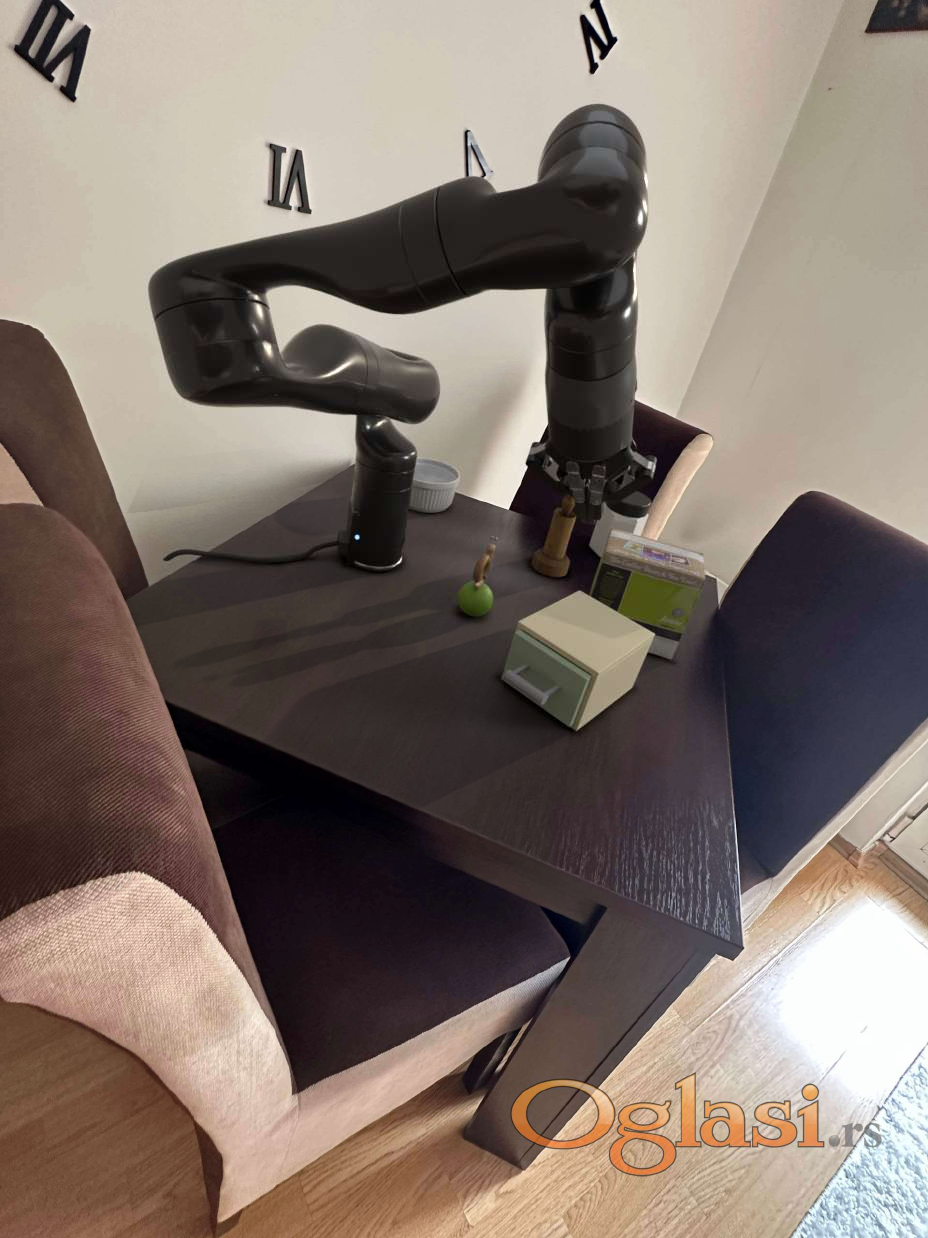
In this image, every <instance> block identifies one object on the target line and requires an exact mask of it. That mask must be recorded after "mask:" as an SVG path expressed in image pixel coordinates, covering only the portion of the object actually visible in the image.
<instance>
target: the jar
mask: <svg viewBox="0 0 928 1238" xmlns="http://www.w3.org/2000/svg"><path fill="white" fill-rule="evenodd" d="M651 505H652V500H651V499H650V498H649V497H648V496H647V495H646V494H643V493H642V492H639V491H636V492H634V493H633V494H631V495H630V496H628V497H626V498H625V499H623V500H622V501H620V502H618V503H616V504H612V503H610V502H608V500H606V501H604V510H603V513H602V517H601V519H600V520H596V521H595V526H594V529H593V532H592V535H591V538H590V541H589V544H588V547H589V548H590V549H591V550H592V551H593V552H594V553H595V554H596V555H597V556H598V557H599V558H601V557H602V554H603V551H604V548H605V545H606V542H607V538H608V535H609V532H610V530H611V528H614V529H617V530H621V531H625V532H628V533H632V534H636V535H639V536H642V534H643V531H644V528H645V526H646V523H647V521H648V518H649V513H648V512H649V509H650V507H651Z"/></svg>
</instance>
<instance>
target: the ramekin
mask: <svg viewBox="0 0 928 1238" xmlns="http://www.w3.org/2000/svg"><path fill="white" fill-rule="evenodd" d="M460 480H461V474H460V471H459V470H458V469H457V468H456V467H454V466H453V465H452V464H449V463H447V462H445V461H443V460H439V459H434V458H429V457H423V456H421V457H420V456H417V460H416V466H415V472H414V479H413V485H412V492H411V498H410V505H409V510H411V511H414V512H419V513H427V514H434V513H441V512H444V511H445V510H446V509H448V508H449V507H450V506H451V504H452V503H453V500H454V497H455V494H456V491H457V488H458V487H457V486H458V485H459V483H460Z"/></svg>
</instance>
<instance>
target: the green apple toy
mask: <svg viewBox="0 0 928 1238" xmlns="http://www.w3.org/2000/svg"><path fill="white" fill-rule="evenodd" d="M489 538H490V542H489V544H488V545H487V546H486V552H485V553H484V554H481V556H479V558H478V559H477V562H476V563H475V565H474V569H473V574H472V581H469V582H466V583H465V584H464V585H462V586H461V588H460V589H459V591H458V593H457V604H458V606H459V608H460V610H461V612H463V613H464V614H466V615H468V616H470V617H481V616H483V615H485V614H487V613H488V612H489V611H490V610H491V608H492V606H493V603H494V593H493V592H492V589H491V588H490V587H489V585H487V584H486V583H485V581H486V580H487V578H488V576H489V572H490V569H491V566H492V562H493V558H494V553H495V551H496V542H497V541H498V540H499V538H498V537H497V536H494V535H491V536H490V537H489ZM492 540H494V543H492Z"/></svg>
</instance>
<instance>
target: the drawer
mask: <svg viewBox="0 0 928 1238" xmlns="http://www.w3.org/2000/svg"><path fill="white" fill-rule="evenodd" d="M591 675H592V674H590V673H588V672H587V671H585V670H584V669H582V668H581V667H579V666H578V665H576V664H575V663H573V662H572V661H570V660H568V659H567V658H565V657H564V656H562V655H561V654H559V653H558V652H556V651H555V650H553V649H551V648H550V647H548V646H547V645H545V644H544V643H542V642H541V641H539V640H538V639H536V638H535V637H533V636H531V635H530V634H529V635H528V634H526V633H525V632H523V631H522V630H518V631H516V630H515V631H514V633H513V636H512V640H511V643H510V647H509V651H508V654H507V657H506V662H505V664H504V668H503V672H502V675H501V680H502V681H504V682H505V683H506V684H508V685H509V686H511V687H512V688H513V689H515V690H516V691H517V692H519V693H521V694H522V695H523V696H525V697H526V698H528V699H529V700H530V701H532V703H534V704H536V705H537V706H539V707H540V708H542V709H543V710H544V711H546V712H547V713H549V714H550V715H552V716H553V717H554V718H556V719H557V720H559V721H560V722H561V723H563V724H564V725H566V726H567V727H568V728H571V727H570V726H571V725H573V724H574V723H575V720H576V718H577V715H578V712H579V710H580V707H581V705H582V702H583V699H584V697H585V694H586V692H587V689H588V686H589V684H590V681H591V678H592V676H591Z"/></svg>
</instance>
